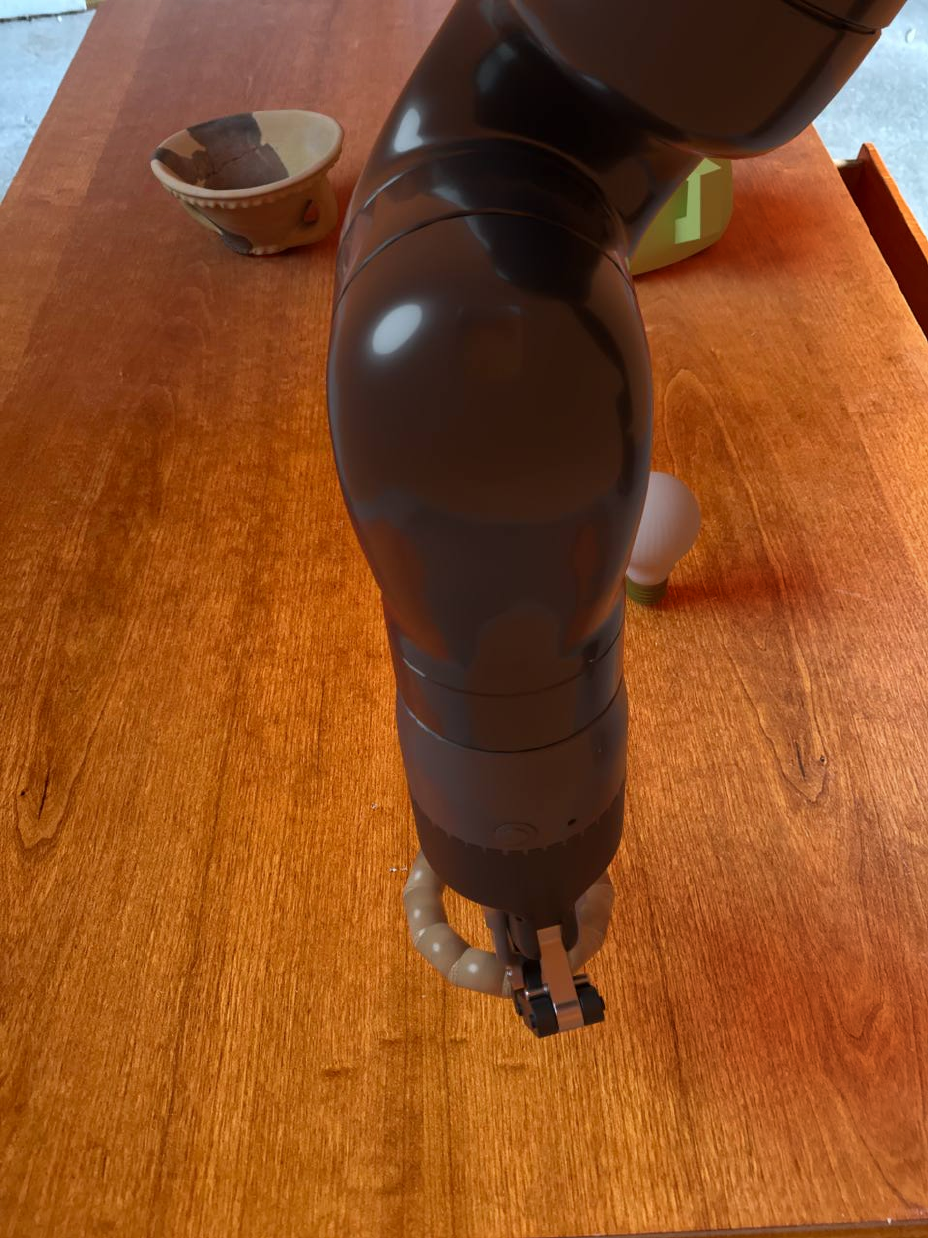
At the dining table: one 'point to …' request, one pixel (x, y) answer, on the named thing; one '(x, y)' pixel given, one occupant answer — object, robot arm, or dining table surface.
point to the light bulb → (661, 537)
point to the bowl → (255, 176)
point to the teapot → (689, 218)
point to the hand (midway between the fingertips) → (530, 976)
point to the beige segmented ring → (476, 964)
